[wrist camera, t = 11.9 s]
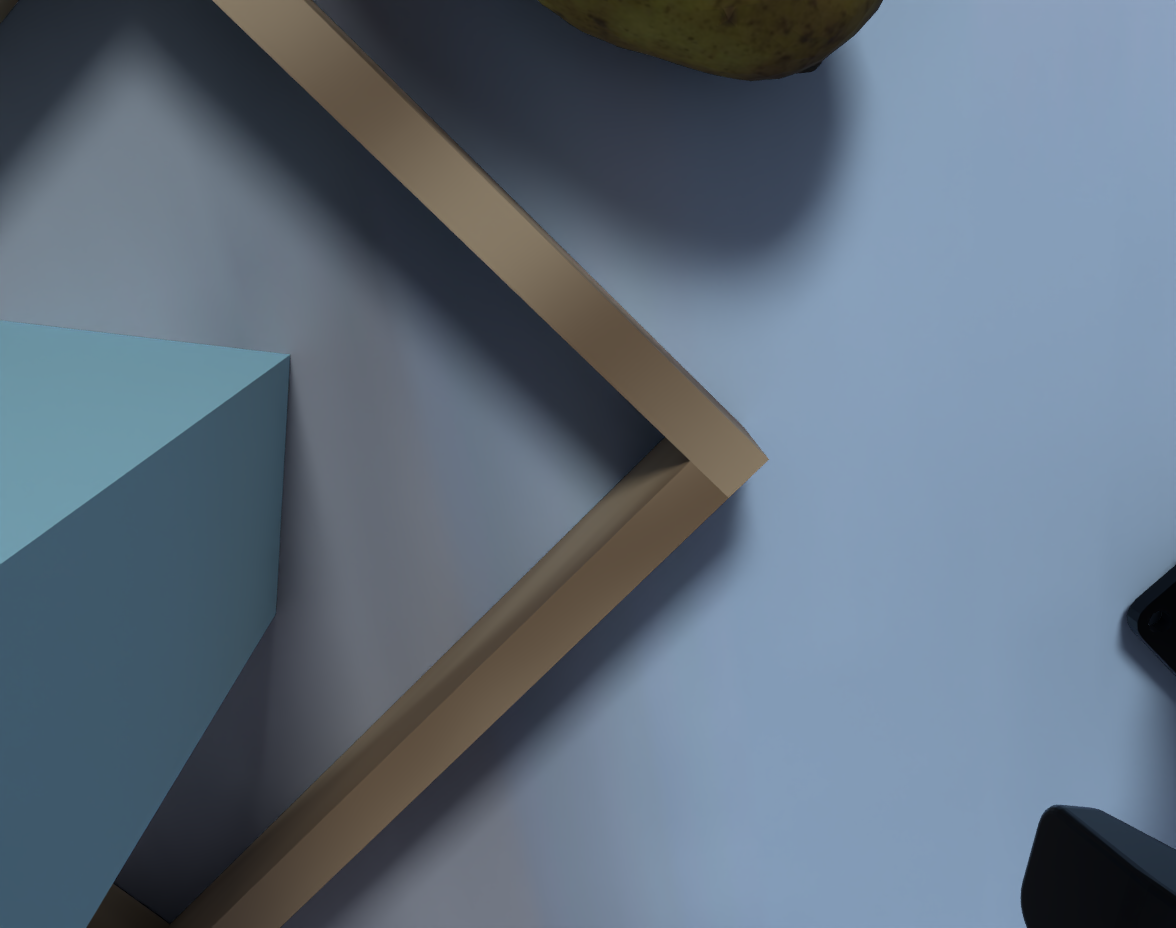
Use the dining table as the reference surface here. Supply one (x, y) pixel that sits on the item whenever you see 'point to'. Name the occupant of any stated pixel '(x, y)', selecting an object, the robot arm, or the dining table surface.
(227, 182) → the dining table surface
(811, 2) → the potato
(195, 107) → the dining table surface
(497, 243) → the light wood flat frame
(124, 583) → the milk carton
